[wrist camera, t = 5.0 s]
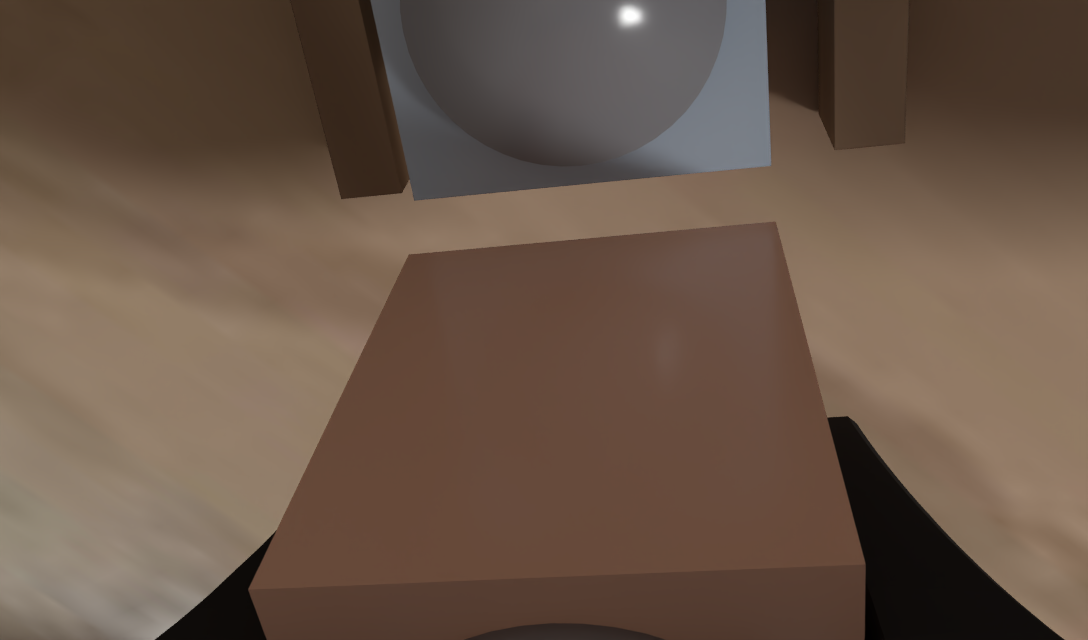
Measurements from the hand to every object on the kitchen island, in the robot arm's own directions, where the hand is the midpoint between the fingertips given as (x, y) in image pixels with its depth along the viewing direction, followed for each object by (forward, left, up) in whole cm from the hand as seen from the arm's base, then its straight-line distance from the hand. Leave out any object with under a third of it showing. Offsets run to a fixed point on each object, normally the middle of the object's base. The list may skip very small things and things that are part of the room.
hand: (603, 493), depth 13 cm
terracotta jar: (0, 0, -2) cm, 2 cm away
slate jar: (0, -6, -9) cm, 11 cm away
